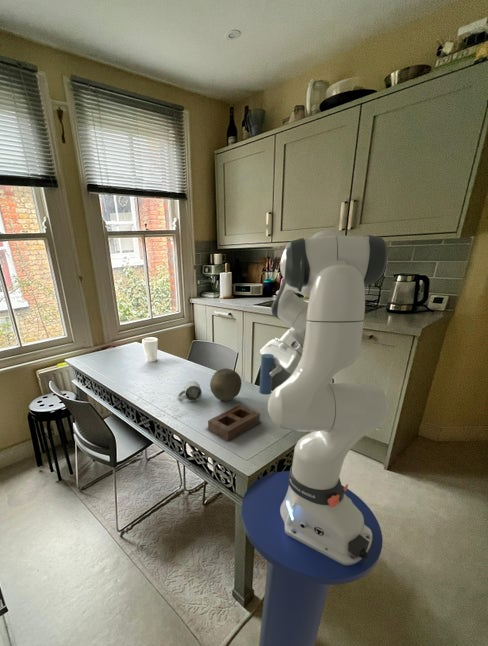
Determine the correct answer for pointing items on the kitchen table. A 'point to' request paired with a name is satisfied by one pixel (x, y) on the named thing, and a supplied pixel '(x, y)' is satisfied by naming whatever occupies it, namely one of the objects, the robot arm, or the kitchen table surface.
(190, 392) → the ceramic mug
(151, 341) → the foam cup
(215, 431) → the peg block
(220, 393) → the cantaloupe
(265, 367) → the peg
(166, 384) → the kitchen table surface
